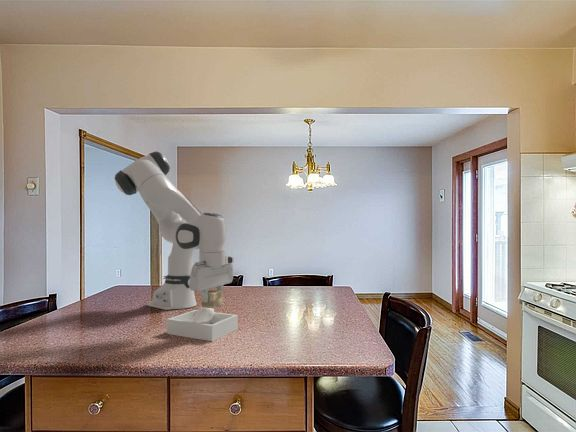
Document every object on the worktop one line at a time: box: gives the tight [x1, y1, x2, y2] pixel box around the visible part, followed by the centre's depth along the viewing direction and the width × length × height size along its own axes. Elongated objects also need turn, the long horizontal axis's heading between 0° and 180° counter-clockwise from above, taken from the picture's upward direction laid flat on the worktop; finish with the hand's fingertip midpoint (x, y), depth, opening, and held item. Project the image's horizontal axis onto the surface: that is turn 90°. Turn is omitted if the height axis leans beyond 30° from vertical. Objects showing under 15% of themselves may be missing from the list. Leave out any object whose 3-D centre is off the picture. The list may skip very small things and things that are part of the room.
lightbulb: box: [190, 305, 215, 323], centre depth 135 cm, size 6×6×11 cm
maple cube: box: [201, 289, 224, 310], centre depth 130 cm, size 5×5×5 cm
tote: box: [166, 309, 239, 342], centre depth 132 cm, size 19×15×5 cm
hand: (212, 300), depth 130 cm, fingers closed on maple cube, 5 cm apart
